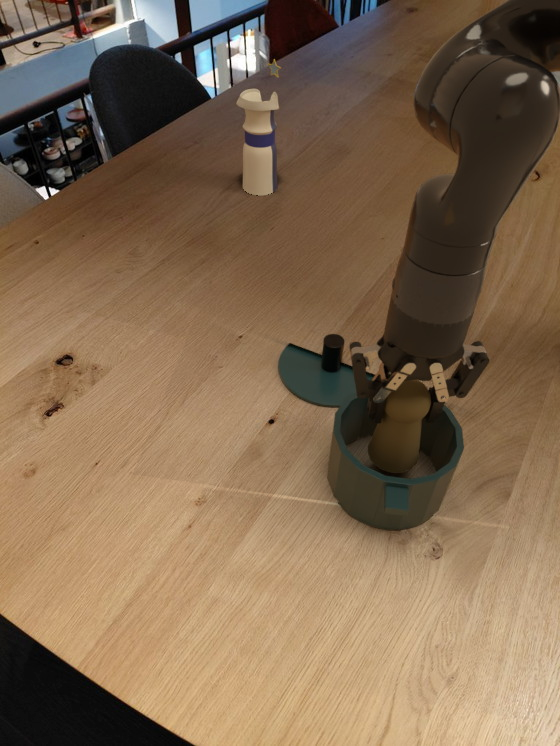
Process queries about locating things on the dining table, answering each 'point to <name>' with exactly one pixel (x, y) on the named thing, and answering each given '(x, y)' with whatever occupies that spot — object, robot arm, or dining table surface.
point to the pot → (386, 493)
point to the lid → (318, 373)
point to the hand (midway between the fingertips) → (402, 417)
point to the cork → (400, 428)
